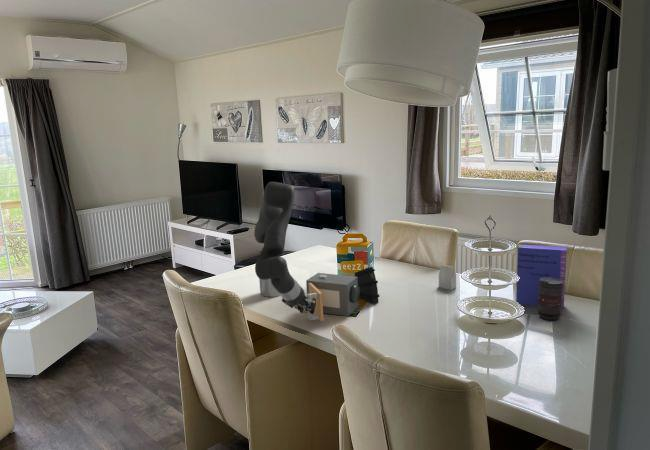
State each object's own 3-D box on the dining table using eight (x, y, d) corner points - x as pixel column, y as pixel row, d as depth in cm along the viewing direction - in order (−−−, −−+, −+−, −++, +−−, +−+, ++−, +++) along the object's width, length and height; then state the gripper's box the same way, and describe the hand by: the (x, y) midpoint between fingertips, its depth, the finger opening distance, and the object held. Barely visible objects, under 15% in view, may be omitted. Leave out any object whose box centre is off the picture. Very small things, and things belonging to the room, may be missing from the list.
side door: (299, 309, 206) (297, 284, 204) (312, 307, 208) (310, 282, 205) (310, 323, 192) (308, 295, 190) (323, 320, 194) (322, 293, 192)
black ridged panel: (376, 302, 210) (366, 267, 212) (360, 307, 221) (350, 274, 224) (384, 300, 212) (373, 266, 214) (367, 305, 223) (357, 272, 225)
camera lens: (550, 324, 185) (552, 285, 182) (532, 317, 192) (534, 279, 189) (565, 319, 188) (568, 281, 185) (547, 313, 195) (549, 275, 192)
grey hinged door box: (307, 310, 209) (305, 278, 206) (319, 301, 218) (317, 271, 216) (351, 316, 200) (350, 283, 198) (362, 307, 210) (361, 275, 207)
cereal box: (563, 305, 203) (566, 246, 198) (563, 309, 198) (566, 249, 194) (517, 300, 210) (519, 244, 205) (516, 304, 206) (518, 246, 201)
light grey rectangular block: (451, 290, 226) (451, 268, 224) (438, 286, 231) (438, 265, 229) (456, 288, 228) (456, 266, 226) (443, 284, 233) (443, 263, 231)
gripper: (311, 283, 179) (327, 304, 192) (276, 279, 185) (294, 300, 198) (305, 302, 175) (321, 322, 189) (269, 298, 182) (288, 318, 195)
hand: (307, 311), depth 193 cm, fingers open, 4 cm apart
